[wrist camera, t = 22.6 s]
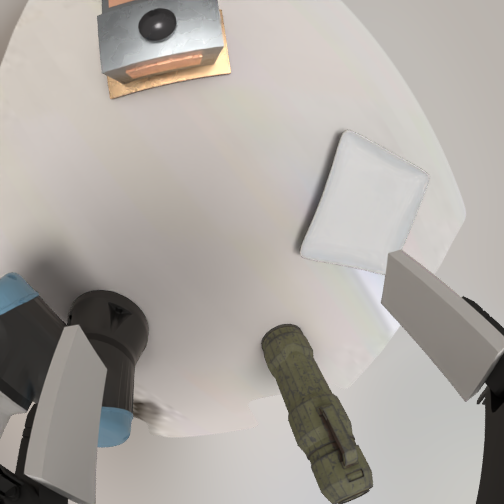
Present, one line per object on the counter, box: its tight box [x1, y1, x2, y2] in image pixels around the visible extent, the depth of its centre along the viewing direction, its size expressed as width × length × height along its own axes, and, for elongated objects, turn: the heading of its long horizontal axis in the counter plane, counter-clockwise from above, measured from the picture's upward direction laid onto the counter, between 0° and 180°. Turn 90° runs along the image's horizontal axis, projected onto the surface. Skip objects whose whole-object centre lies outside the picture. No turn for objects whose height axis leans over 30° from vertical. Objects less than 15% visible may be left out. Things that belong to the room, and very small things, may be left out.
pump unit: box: [97, 0, 231, 99], centre depth 24 cm, size 16×10×12 cm, turn 97°
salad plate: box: [300, 130, 430, 275], centre depth 45 cm, size 21×21×3 cm
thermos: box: [261, 324, 373, 504], centre depth 40 cm, size 9×12×35 cm
